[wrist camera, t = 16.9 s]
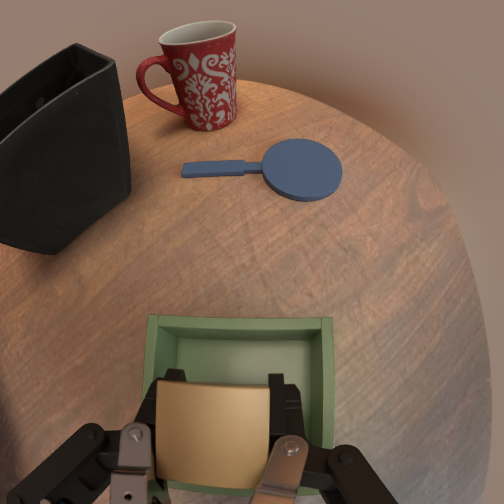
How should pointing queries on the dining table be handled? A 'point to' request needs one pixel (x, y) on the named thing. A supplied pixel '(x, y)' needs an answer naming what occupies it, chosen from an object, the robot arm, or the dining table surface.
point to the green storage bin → (250, 365)
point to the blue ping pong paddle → (283, 169)
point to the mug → (198, 73)
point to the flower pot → (61, 150)
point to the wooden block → (212, 433)
